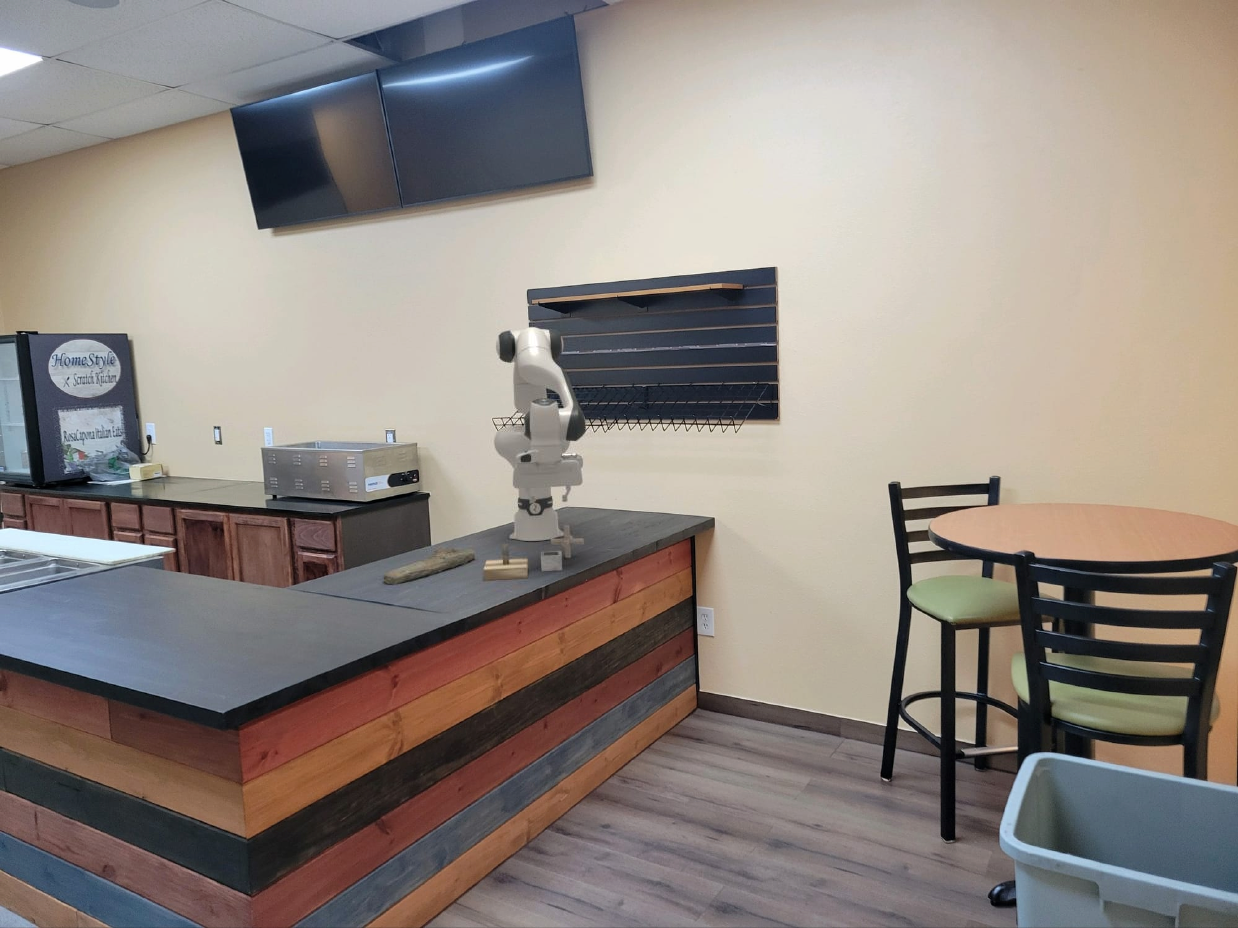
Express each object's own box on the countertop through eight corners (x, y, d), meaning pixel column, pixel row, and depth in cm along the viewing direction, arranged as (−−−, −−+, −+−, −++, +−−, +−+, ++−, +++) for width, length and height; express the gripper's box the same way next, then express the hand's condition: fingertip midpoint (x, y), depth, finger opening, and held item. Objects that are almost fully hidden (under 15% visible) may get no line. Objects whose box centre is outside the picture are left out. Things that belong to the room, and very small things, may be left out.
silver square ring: (541, 566, 253) (541, 551, 253) (561, 565, 254) (561, 550, 253) (541, 571, 248) (540, 556, 247) (562, 570, 248) (561, 555, 247)
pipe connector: (586, 553, 268) (584, 522, 267) (581, 560, 259) (580, 528, 257) (554, 553, 269) (553, 522, 268) (549, 561, 260) (547, 528, 258)
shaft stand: (487, 570, 251) (485, 541, 250) (528, 567, 252) (526, 539, 251) (484, 580, 239) (482, 550, 238) (527, 577, 240) (525, 548, 239)
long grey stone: (374, 587, 242) (400, 593, 237) (373, 569, 241) (398, 575, 236) (459, 555, 271) (483, 559, 266) (458, 539, 270) (482, 543, 265)
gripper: (582, 452, 251) (584, 498, 252) (512, 455, 249) (514, 502, 251) (582, 454, 244) (584, 502, 246) (511, 457, 243) (513, 505, 244)
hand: (548, 502), depth 248 cm, fingers open, 8 cm apart
